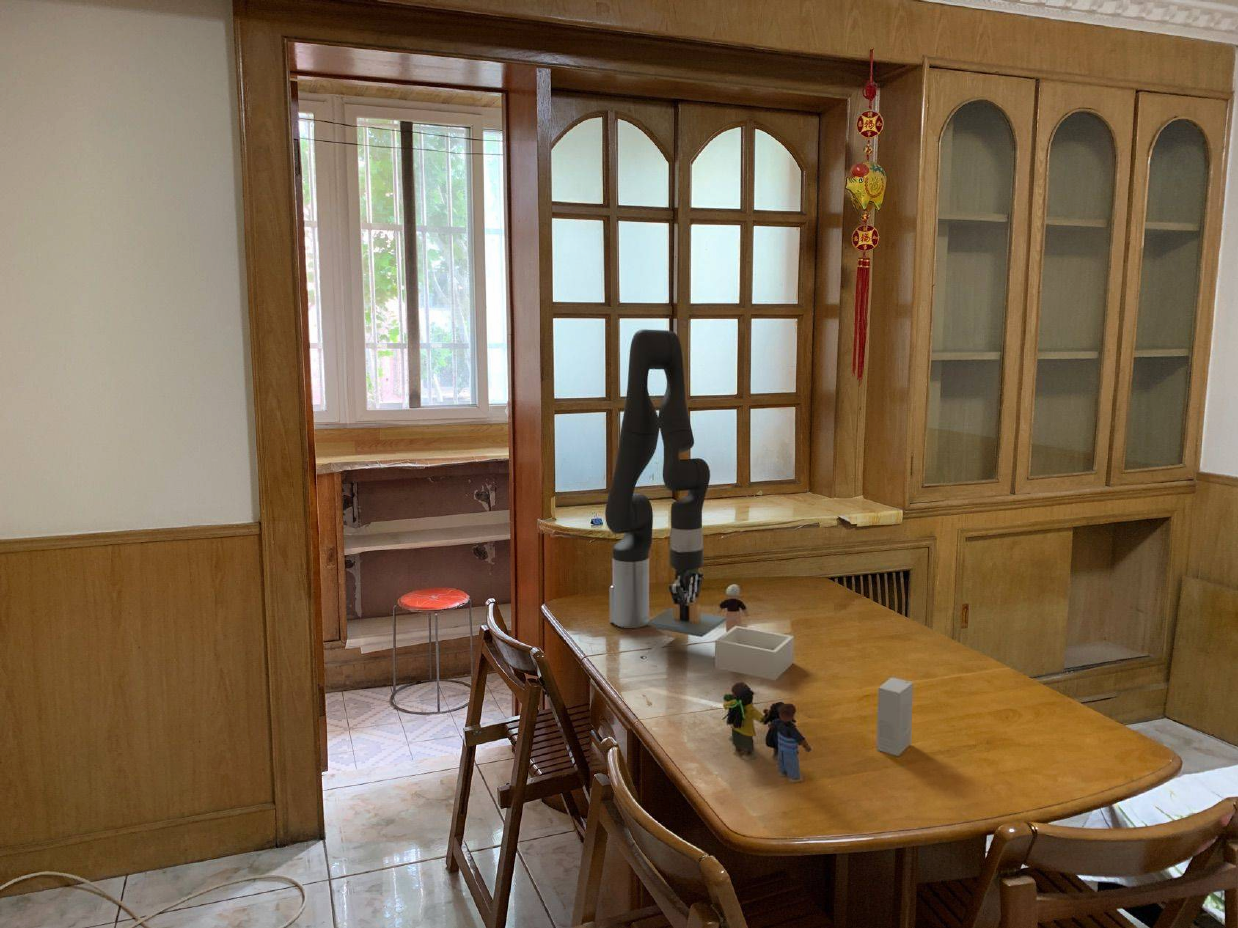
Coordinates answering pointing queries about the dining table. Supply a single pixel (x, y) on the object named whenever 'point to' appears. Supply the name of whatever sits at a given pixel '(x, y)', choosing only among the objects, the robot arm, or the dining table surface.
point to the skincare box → (894, 716)
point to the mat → (657, 647)
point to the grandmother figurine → (733, 608)
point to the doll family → (778, 736)
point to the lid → (695, 626)
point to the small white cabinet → (754, 652)
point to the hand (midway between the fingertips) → (686, 619)
